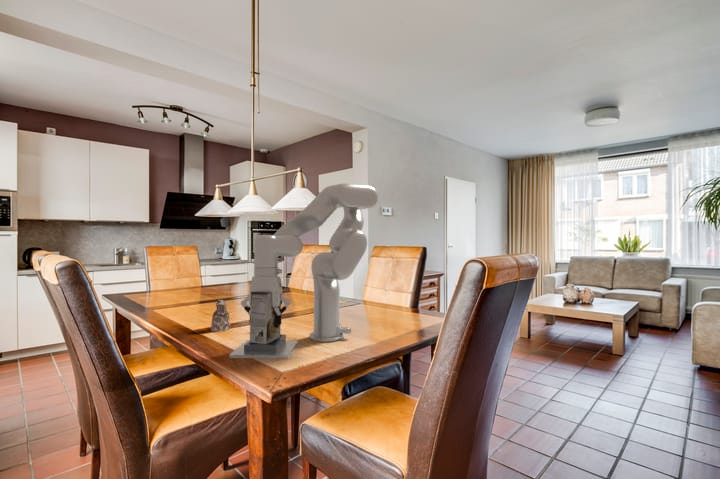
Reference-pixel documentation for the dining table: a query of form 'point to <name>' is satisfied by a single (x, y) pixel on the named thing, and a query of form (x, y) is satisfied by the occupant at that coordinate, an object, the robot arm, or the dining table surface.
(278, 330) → the coffee box
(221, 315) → the figurine
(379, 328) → the dining table surface
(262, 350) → the locating jig
